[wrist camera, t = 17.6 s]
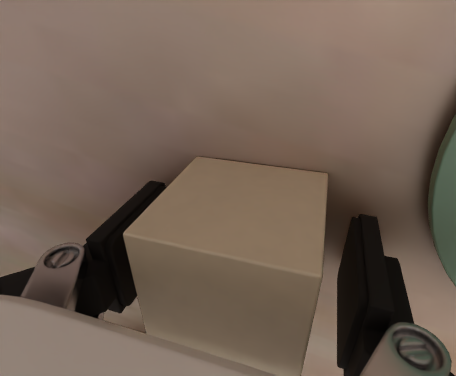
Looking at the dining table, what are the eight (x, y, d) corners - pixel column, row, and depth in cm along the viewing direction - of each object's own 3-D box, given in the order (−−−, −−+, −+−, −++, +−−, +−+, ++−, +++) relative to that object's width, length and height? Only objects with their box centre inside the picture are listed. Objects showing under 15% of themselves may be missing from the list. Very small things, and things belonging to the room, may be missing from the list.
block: (202, 251, 14) (148, 347, 10) (196, 155, 12) (120, 233, 8) (309, 274, 13) (296, 396, 9) (328, 172, 10) (322, 277, 6)
